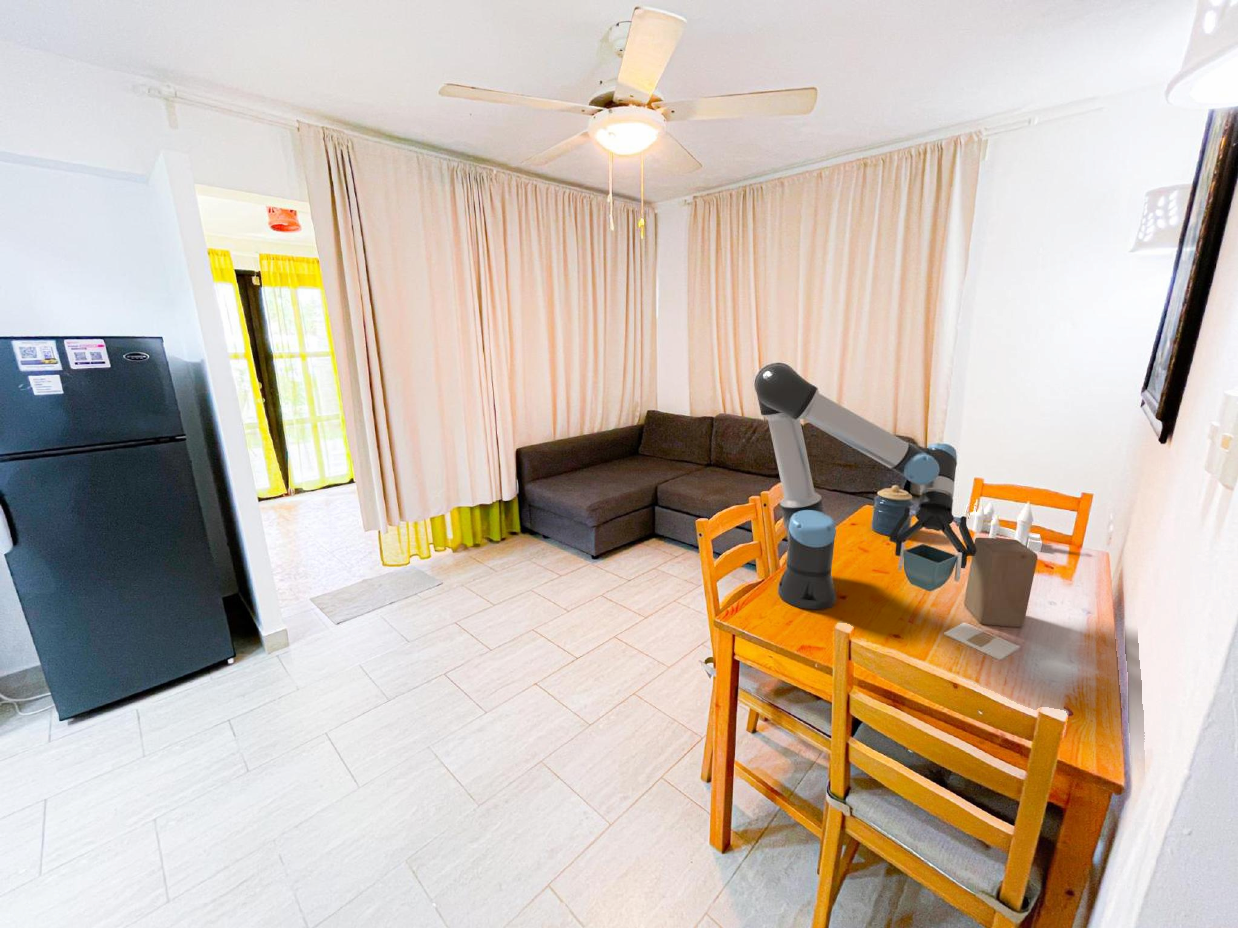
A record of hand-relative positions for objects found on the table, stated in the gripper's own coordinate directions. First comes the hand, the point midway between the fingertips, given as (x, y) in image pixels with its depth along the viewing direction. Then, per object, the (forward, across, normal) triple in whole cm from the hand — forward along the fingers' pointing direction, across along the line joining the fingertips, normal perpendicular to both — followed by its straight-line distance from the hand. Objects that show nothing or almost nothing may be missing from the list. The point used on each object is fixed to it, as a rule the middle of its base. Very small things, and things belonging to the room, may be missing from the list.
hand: (928, 573), depth 124 cm
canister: (-37, +9, -56) cm, 68 cm away
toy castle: (-47, -26, -66) cm, 85 cm away
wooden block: (+1, -16, -18) cm, 24 cm away
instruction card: (+11, -13, -8) cm, 19 cm away
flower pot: (+2, 0, -5) cm, 5 cm away
